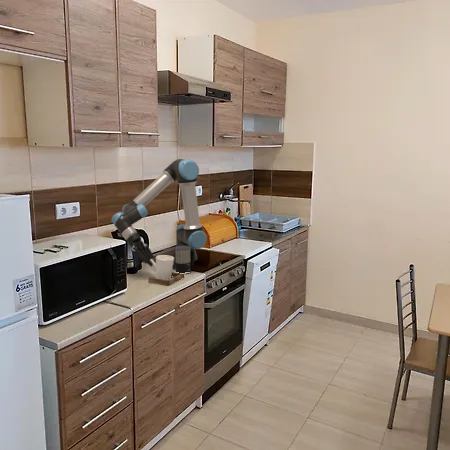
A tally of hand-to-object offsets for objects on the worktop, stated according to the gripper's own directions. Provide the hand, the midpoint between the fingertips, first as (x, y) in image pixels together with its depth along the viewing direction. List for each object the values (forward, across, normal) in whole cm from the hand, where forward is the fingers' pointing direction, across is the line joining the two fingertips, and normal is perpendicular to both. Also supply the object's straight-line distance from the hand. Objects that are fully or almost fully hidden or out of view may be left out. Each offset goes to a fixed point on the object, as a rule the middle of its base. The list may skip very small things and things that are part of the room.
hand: (156, 269), depth 235 cm
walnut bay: (+8, 0, 0) cm, 8 cm away
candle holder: (+6, -1, -1) cm, 6 cm away
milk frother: (+5, -20, -3) cm, 21 cm away
